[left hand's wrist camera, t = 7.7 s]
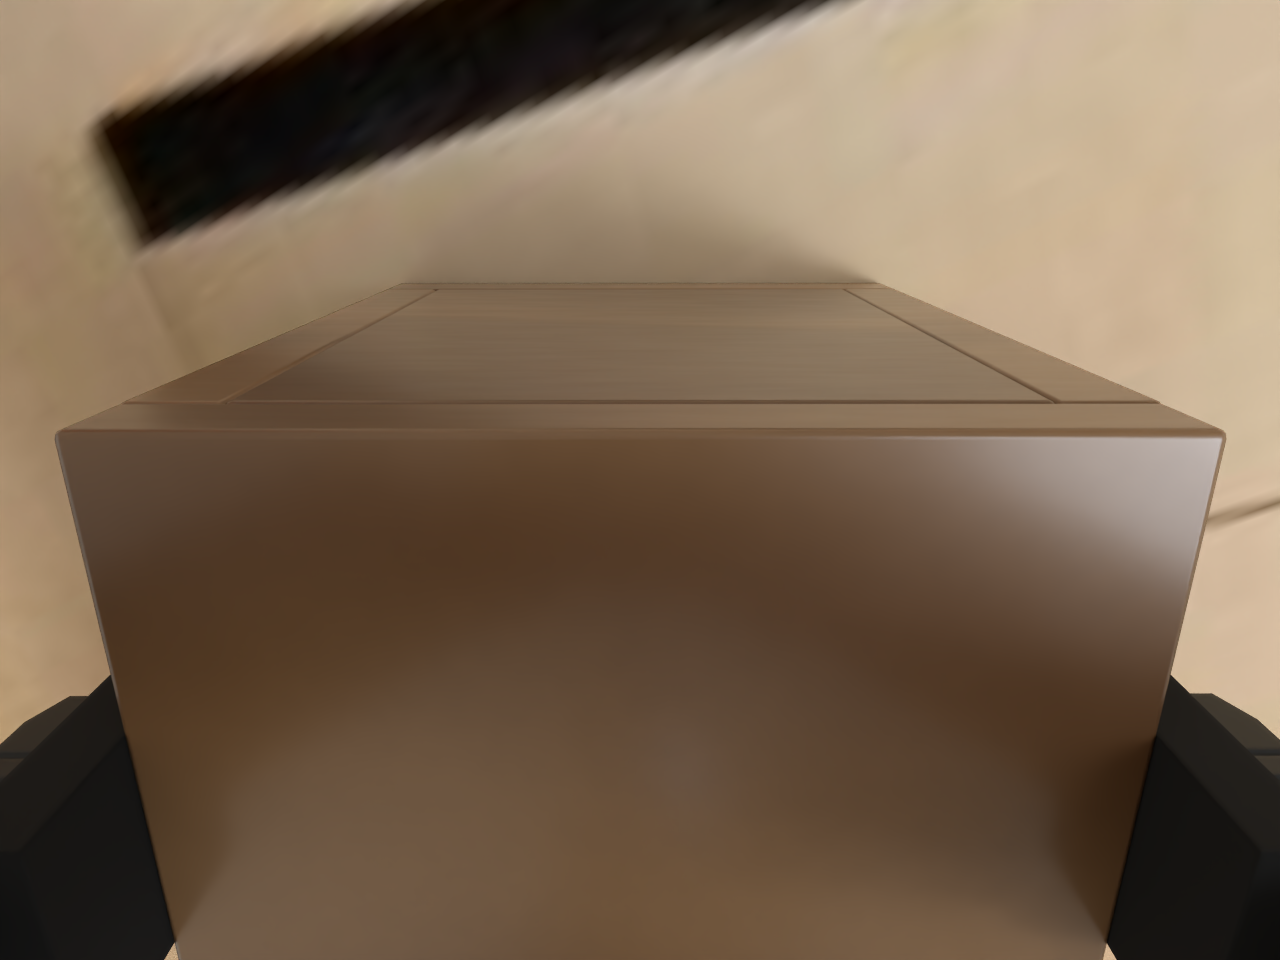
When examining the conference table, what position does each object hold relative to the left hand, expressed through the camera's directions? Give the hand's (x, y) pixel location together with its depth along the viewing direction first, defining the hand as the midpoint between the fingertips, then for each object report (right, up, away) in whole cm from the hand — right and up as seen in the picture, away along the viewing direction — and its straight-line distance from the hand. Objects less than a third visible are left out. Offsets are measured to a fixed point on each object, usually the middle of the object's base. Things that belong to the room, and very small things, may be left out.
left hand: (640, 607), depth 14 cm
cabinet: (0, -2, +7) cm, 7 cm away
